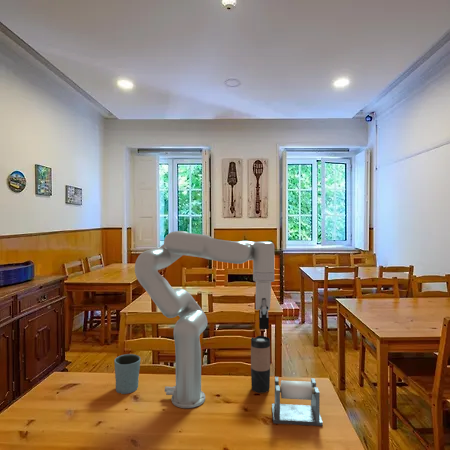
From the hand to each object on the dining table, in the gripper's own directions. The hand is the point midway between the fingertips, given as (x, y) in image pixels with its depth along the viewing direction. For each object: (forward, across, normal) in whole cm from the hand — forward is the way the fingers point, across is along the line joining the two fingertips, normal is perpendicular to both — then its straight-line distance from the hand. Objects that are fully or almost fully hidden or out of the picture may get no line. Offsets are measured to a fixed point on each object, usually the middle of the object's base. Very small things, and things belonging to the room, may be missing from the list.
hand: (263, 324), depth 120 cm
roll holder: (+30, +3, +11) cm, 32 cm away
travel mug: (+31, -15, -1) cm, 34 cm away
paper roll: (+24, +3, +11) cm, 27 cm away
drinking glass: (+31, -10, -54) cm, 63 cm away
